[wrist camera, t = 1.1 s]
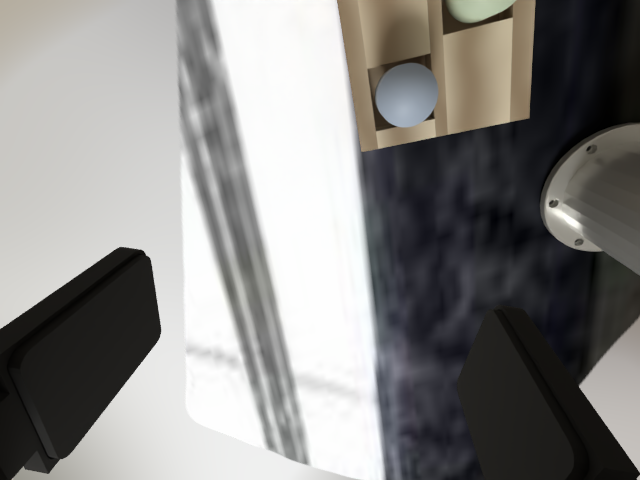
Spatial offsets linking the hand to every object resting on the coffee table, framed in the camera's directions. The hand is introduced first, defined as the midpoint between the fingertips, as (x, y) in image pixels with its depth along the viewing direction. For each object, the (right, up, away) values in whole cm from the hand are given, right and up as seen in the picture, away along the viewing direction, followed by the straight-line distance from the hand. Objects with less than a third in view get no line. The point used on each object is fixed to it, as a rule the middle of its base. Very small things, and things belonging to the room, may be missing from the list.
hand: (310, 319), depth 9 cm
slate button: (+7, +14, +18) cm, 24 cm away
